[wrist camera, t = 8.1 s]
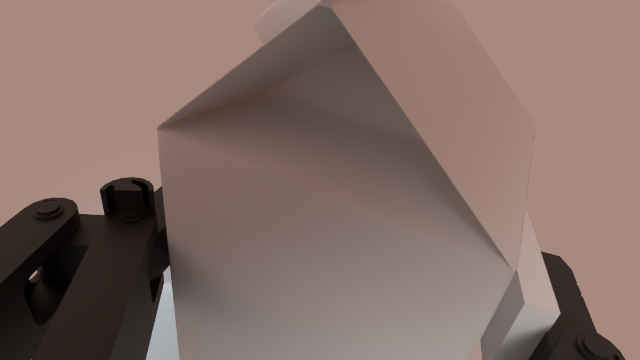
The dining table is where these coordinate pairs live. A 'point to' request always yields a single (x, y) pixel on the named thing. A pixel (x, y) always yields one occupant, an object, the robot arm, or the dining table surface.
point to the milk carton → (346, 189)
